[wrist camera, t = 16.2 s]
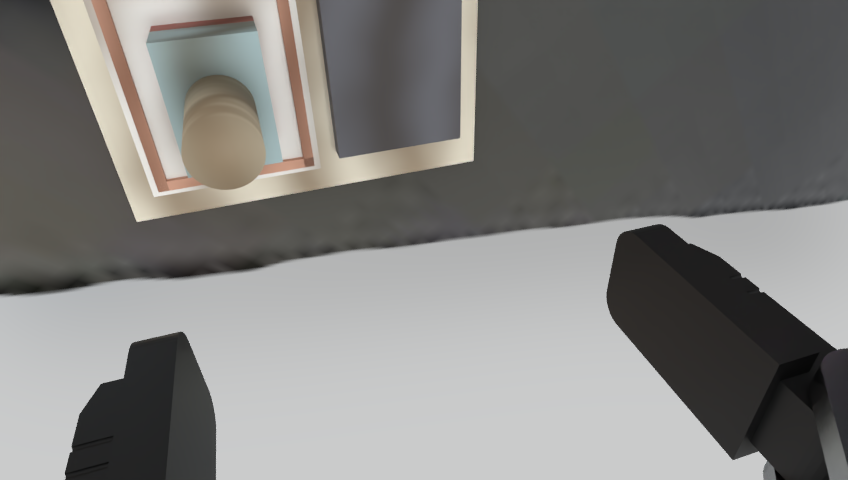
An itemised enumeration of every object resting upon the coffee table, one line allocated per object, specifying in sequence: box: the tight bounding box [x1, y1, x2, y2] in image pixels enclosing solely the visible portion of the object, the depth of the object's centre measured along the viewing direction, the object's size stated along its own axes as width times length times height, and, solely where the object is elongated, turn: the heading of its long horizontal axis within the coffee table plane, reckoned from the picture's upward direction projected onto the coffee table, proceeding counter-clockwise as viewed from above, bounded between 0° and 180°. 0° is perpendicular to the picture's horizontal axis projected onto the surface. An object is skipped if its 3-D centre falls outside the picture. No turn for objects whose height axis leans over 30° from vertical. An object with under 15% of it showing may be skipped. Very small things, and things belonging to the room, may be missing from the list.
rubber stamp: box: [146, 16, 283, 190], centre depth 27 cm, size 5×7×9 cm
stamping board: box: [50, 0, 478, 222], centre depth 32 cm, size 22×15×2 cm
